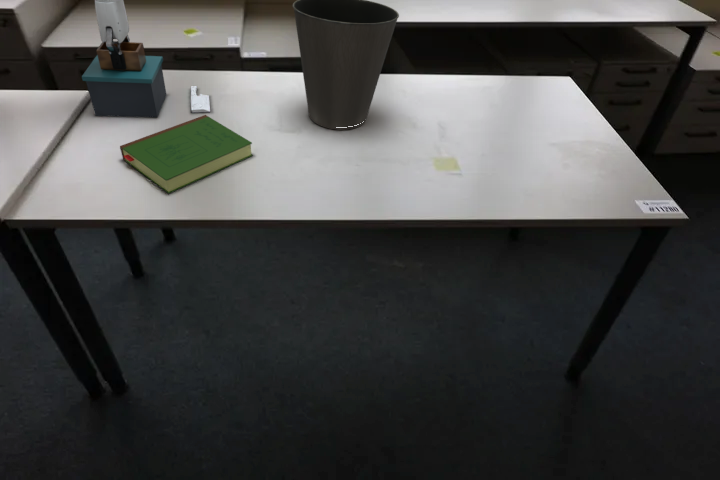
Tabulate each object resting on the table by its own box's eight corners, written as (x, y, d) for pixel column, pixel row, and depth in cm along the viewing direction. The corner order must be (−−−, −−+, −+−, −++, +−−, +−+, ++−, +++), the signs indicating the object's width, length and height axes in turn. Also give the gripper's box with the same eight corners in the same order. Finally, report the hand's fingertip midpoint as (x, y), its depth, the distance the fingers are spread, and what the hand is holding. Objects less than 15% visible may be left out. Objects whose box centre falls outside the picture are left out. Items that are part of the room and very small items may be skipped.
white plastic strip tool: (208, 88, 156) (208, 85, 155) (210, 112, 145) (209, 108, 144) (191, 88, 154) (190, 85, 154) (191, 112, 144) (190, 109, 143)
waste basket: (381, 102, 159) (394, 0, 139) (388, 136, 144) (404, 26, 124) (293, 97, 156) (294, -8, 137) (290, 131, 141) (290, 18, 121)
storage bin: (92, 116, 138) (81, 76, 130) (107, 91, 149) (98, 53, 142) (158, 118, 140) (151, 79, 133) (168, 93, 151) (162, 56, 144)
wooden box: (100, 69, 134) (96, 50, 131) (107, 59, 139) (103, 40, 135) (141, 71, 135) (137, 52, 132) (146, 61, 140) (142, 42, 137)
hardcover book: (206, 127, 139) (205, 114, 136) (252, 155, 130) (252, 142, 128) (120, 160, 123) (116, 147, 121) (165, 195, 115) (162, 181, 113)
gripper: (101, -20, 131) (116, 50, 143) (80, 1, 118) (99, 76, 130) (132, -18, 132) (145, 51, 144) (114, 3, 119) (130, 77, 131)
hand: (123, 62), depth 137 cm, fingers closed on wooden box, 6 cm apart
